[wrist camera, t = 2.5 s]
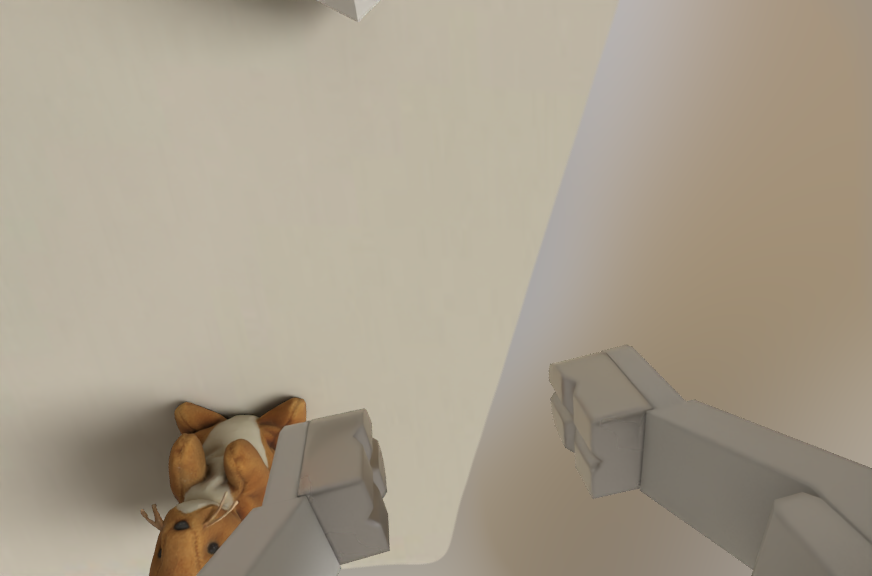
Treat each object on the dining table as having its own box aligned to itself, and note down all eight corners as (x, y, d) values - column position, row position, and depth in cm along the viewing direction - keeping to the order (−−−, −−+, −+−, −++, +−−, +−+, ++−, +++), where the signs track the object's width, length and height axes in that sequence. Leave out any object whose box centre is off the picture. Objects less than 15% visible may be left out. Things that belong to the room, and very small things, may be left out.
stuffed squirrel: (308, 388, 36) (281, 543, 24) (300, 503, 42) (274, 671, 30) (176, 381, 34) (76, 547, 22) (187, 504, 40) (113, 685, 28)
